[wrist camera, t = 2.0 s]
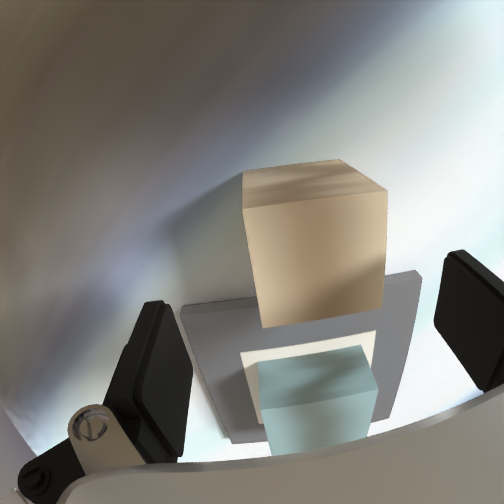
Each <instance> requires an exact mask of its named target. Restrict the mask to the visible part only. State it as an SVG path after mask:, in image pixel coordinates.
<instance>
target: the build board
mask: <svg viewBox="0 0 504 504" xmlns="http://www.w3.org/2000/svg"><path fill="white" fill-rule="evenodd" d="M421 284H422V277H421V276H420V275H419V273H418V272H417V271H416V270H413V271H408V272H403V273H398V274H393V275H387V276H384V289H383V299H382V308H380V309H375V310H370V311H365V312H360V313H354V314H349V315H344V316H338V317H333V318H327V319H321V320H315V321H309V322H303V323H296V324H290V325H283V326H276V327H269V328H262V322H261V316H260V311H259V305H258V299H257V297H251V298H243V299H236V300H228V301H220V302H212V303H204V304H196V305H187V306H183V307H182V310H181V314H180V317H181V320H182V323H183V326H184V328H185V331H186V334H187V337H188V339H189V342H190V345H191V347H192V350H193V353H194V355H195V358H196V360H197V363H198V365H199V368H200V371H201V373H202V376H203V378H204V381H205V383H206V385H207V388H208V390H209V393H210V395H211V397H212V400H213V402H214V405H215V407H216V409H217V412H218V414H219V416H220V418H221V421H222V423H223V425H224V427H225V430H226V432H227V434H228V436H229V438H230V441H231V443H232V444H241V443H254V442H264V441H268V438H267V435H266V431H265V427H264V423H263V419H262V415H261V411H260V397H259V377H258V361H266V360H273V359H281V358H288V357H294V356H301V355H307V354H313V353H319V352H324V351H330V350H335V349H341V348H346V347H351V346H356V345H361V346H362V348H363V351H364V353H365V355H366V358H367V360H368V363H369V365H370V368H371V370H372V373H373V375H374V378H375V381H376V383H377V386H378V388H379V390H378V394H377V398H376V403H375V407H374V411H373V415H372V418H371V422H370V423H372V422H376V421H380V420H384V419H387V418H389V416H390V413H391V410H392V407H393V404H394V401H395V398H396V394H397V391H398V388H399V384H400V381H401V377H402V374H403V370H404V366H405V362H406V358H407V354H408V350H409V346H410V342H411V337H412V333H413V328H414V323H415V318H416V313H417V308H418V302H419V296H420V290H421Z"/></svg>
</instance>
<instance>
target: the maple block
mask: <svg viewBox="0 0 504 504" xmlns="http://www.w3.org/2000/svg"><path fill="white" fill-rule="evenodd" d="M242 213H243V219H244V225H245V230H246V236H247V242H248V248H249V253H250V259H251V265H252V271H253V276H254V282H255V288H256V293H257V299H258V305H259V311H260V316H261V322H262V328H269V327H276V326H283V325H290V324H296V323H303V322H309V321H315V320H321V319H327V318H333V317H338V316H344V315H349V314H354V313H360V312H365V311H370V310H375V309H380V308H382V299H383V289H384V276H385V262H386V242H387V190H386V189H384V188H383V187H381V186H380V185H378V184H377V183H376V182H374V181H373V180H371V179H370V178H368V177H366V176H365V175H363V174H362V173H360V172H359V171H357V170H356V169H354V168H353V167H351V166H349V165H348V164H346V163H345V162H343V161H341V160H340V159H337V160H327V161H317V162H308V163H300V164H292V165H284V166H276V167H269V168H262V169H255V170H249V171H243V179H242Z"/></svg>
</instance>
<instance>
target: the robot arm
mask: <svg viewBox="0 0 504 504" xmlns="http://www.w3.org/2000/svg"><path fill="white" fill-rule="evenodd" d="M434 325H435V328H436V329H437V331H438V332H439V333H440V335H441V336H442V337H443V339H444V340H445V341H446V343H447V344H448V346H449V347H450V348H451V350H452V351H453V353H454V354H455V355H456V357H457V358H458V360H459V361H460V363H461V364H462V365H463V367H464V368H465V370H466V371H467V373H468V374H469V376H470V377H471V379H472V380H473V382H474V383H475V385H476V386H477V388H478V389H479V390H482V391H483V392H484V394H482V395H480V396H478V397H476V398H474V399H471V400H469V401H467V402H465V403H463V404H460V405H458V406H456V407H453V408H451V409H448V410H446V411H444V412H441V413H439V414H436V415H433V416H431V417H428V418H426V419H423V420H420V421H417V422H414V423H412V424H409V425H406V426H403V427H400V428H396V429H393V430H390V431H387V432H383V433H380V434H377V435H373V436H369V437H366V438H362V439H358V440H354V441H350V442H346V443H342V444H337V445H333V446H328V447H323V448H318V449H313V450H308V451H302V452H296V453H290V454H283V455H276V456H268V457H260V458H250V459H240V460H228V461H213V462H186V463H177V459H178V457H182V455H183V451H184V442H185V433H186V424H187V416H188V408H189V400H190V392H191V385H192V377H193V367H192V363H191V360H190V358H189V355H188V353H187V350H186V347H185V345H184V342H183V339H182V337H181V334H180V331H179V328H178V326H177V323H176V320H175V317H174V314H173V311H172V308H171V306H170V305H169V304H165V303H164V301H162V300H159V301H151V302H145V303H144V305H143V308H142V310H141V312H140V315H139V317H138V319H137V322H136V324H135V327H134V329H133V332H132V334H131V337H130V339H129V341H128V344H126V345H125V347H124V349H123V351H122V354H121V356H120V359H119V362H118V364H117V367H116V369H115V372H114V374H113V377H112V380H111V382H110V385H109V388H108V391H107V393H106V396H105V399H104V402H103V404H102V405H98V404H93V405H88V406H86V407H83V408H81V409H80V410H78V411H77V412H76V413H75V414H74V415H73V416H72V417H71V419H70V421H69V424H68V430H67V431H68V436H69V438H67V439H66V440H64V441H62V442H61V443H59V444H58V445H56V446H54V447H53V448H51V449H49V450H48V451H46V452H44V453H43V454H41V455H39V456H38V457H36V458H34V459H33V460H31V461H29V462H28V463H27V464H25V465H24V467H23V468H22V469H21V470H20V473H19V475H18V489H17V490H16V489H15V488H12V489H11V490H10V491H9V492H8V493H7V494H6V495H5V496H4V497H3V498H2V499H1V500H0V504H504V282H503V281H502V280H501V279H500V278H498V277H497V276H496V275H495V274H494V273H492V272H491V271H490V270H489V269H488V268H486V267H485V266H484V265H483V264H481V263H480V262H479V261H478V260H477V259H475V258H474V257H473V256H471V255H470V254H469V253H468V252H466V251H465V250H457V251H452V252H449V253H448V255H447V257H446V258H445V259H444V264H443V271H442V277H441V283H440V289H439V295H438V300H437V305H436V310H435V315H434Z"/></svg>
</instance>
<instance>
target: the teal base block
mask: <svg viewBox="0 0 504 504" xmlns="http://www.w3.org/2000/svg"><path fill="white" fill-rule="evenodd" d="M258 377H259V397H260V411H261V415H262V419H263V423H264V427H265V431H266V435H267V438H268V442H269V446H270V450H271V454H272V456H276V455H283V454H290V453H296V452H302V451H308V450H313V449H318V448H323V447H328V446H333V445H337V444H342V443H346V442H350V441H354V440H358V439H362V438H366V437H367V433H368V430H369V426H370V422H371V418H372V415H373V411H374V407H375V403H376V398H377V394H378V390H379V388H378V386H377V383H376V381H375V378H374V375H373V373H372V370H371V368H370V365H369V363H368V360H367V358H366V355H365V353H364V351H363V348H362V346H361V345H356V346H351V347H346V348H341V349H335V350H330V351H324V352H319V353H313V354H307V355H301V356H294V357H288V358H281V359H273V360H266V361H258Z"/></svg>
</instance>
